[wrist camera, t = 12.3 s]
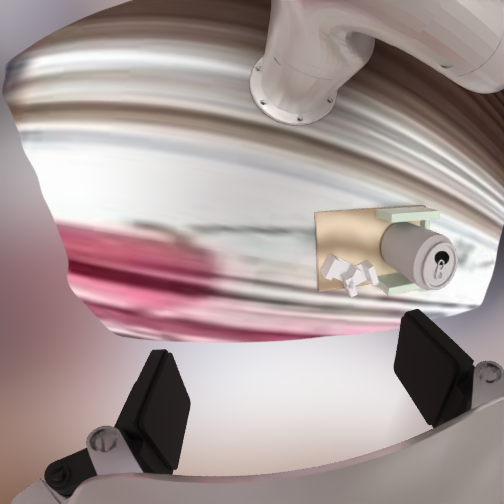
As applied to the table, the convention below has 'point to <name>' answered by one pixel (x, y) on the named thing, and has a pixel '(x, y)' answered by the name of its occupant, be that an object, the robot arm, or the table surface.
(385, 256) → the can
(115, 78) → the table surface
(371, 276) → the clip
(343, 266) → the clip
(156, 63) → the table surface
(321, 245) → the board
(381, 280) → the bracket
